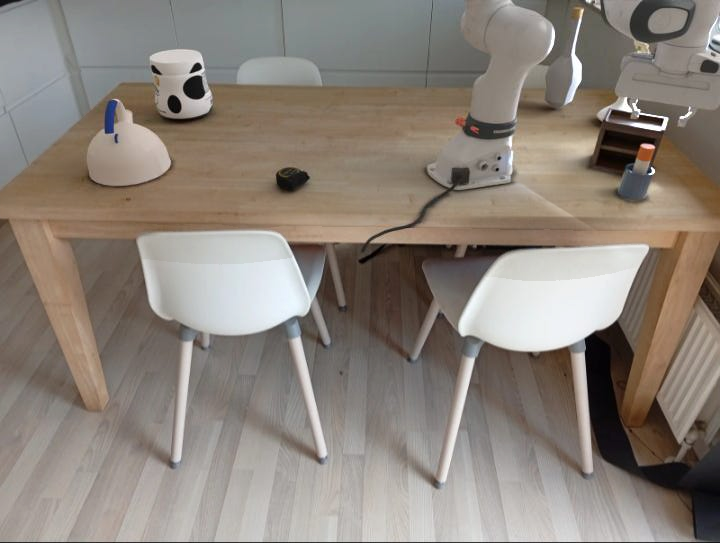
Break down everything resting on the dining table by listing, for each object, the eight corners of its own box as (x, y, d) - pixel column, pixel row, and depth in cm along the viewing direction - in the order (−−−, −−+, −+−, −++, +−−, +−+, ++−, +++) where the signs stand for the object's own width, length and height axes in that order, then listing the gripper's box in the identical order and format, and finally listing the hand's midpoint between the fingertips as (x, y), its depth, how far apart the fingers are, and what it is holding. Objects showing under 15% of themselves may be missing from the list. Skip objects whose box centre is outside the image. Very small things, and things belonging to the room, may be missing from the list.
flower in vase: (636, 132, 160) (665, 43, 145) (596, 127, 163) (619, 39, 148) (633, 116, 170) (660, 32, 155) (595, 112, 173) (617, 29, 158)
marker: (632, 197, 127) (648, 150, 120) (622, 192, 129) (637, 145, 122) (641, 194, 128) (658, 147, 121) (631, 189, 130) (646, 142, 123)
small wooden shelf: (647, 180, 135) (664, 130, 127) (589, 168, 141) (602, 119, 133) (651, 166, 141) (668, 117, 133) (595, 155, 147) (609, 107, 139)
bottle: (576, 116, 170) (602, 13, 152) (540, 113, 172) (561, 11, 154) (571, 103, 179) (595, 5, 161) (537, 101, 180) (556, 3, 162)
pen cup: (632, 204, 125) (642, 177, 121) (611, 193, 130) (619, 166, 126) (650, 198, 128) (660, 171, 124) (629, 187, 132) (638, 161, 128)
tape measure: (291, 195, 129) (290, 181, 127) (271, 187, 132) (269, 173, 130) (310, 184, 133) (309, 171, 131) (290, 177, 137) (288, 163, 135)
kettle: (175, 149, 150) (160, 84, 139) (166, 183, 134) (149, 112, 123) (99, 154, 148) (78, 88, 137) (81, 190, 131) (55, 118, 120)
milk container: (149, 113, 172) (135, 55, 161) (198, 101, 181) (187, 45, 171) (174, 129, 162) (161, 68, 151) (225, 115, 171) (215, 56, 160)
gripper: (621, 54, 111) (604, 118, 120) (735, 67, 103) (708, 135, 112) (626, 46, 116) (609, 109, 124) (735, 59, 108) (709, 125, 116)
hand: (657, 122), depth 118 cm, fingers open, 8 cm apart
